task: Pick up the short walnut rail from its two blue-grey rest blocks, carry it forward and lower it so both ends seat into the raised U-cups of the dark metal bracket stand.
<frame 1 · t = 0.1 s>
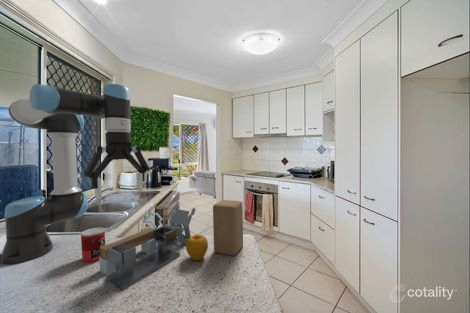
hand: (121, 194, 68), 28 cm above the countertop, fingers open, 13 cm apart
rest block a: (109, 269, 72), on the countertop
rail: (130, 246, 78), point 5 cm above the countertop, touching rest block a, rest block b
wooden block: (229, 249, 85), on the countertop
bracket: (179, 241, 94), on the countertop
rest block b: (149, 250, 85), on the countertop
apple: (197, 258, 78), on the countertop
canned food: (94, 258, 80), on the countertop
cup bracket: (146, 266, 73), on the countertop
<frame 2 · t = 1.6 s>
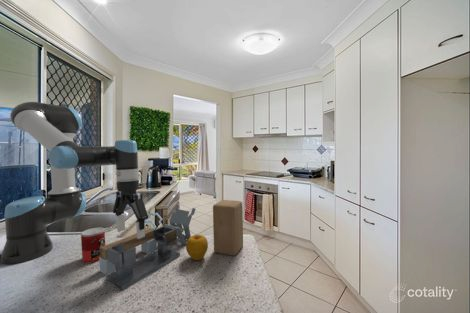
hand: (130, 234, 78), 10 cm above the countertop, fingers open, 13 cm apart
nothing on the countertop moved.
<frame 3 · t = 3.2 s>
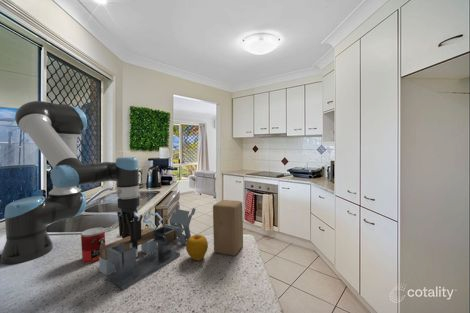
hand: (130, 255, 78), 1 cm above the countertop, fingers closed on rail, 4 cm apart
rail: (130, 246, 78), point 5 cm above the countertop, touching gripper, rest block a, rest block b
everything else where it was.
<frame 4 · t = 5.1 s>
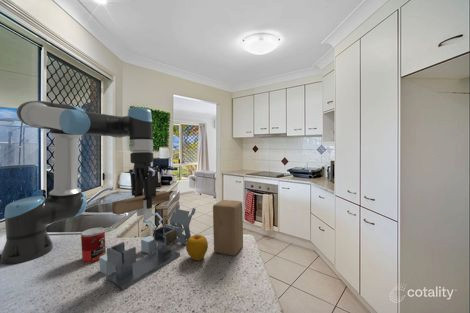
hand: (144, 216, 73), 19 cm above the countertop, fingers closed on rail, 4 cm apart
rail: (144, 206, 72), point 22 cm above the countertop, touching gripper
everything else where it was.
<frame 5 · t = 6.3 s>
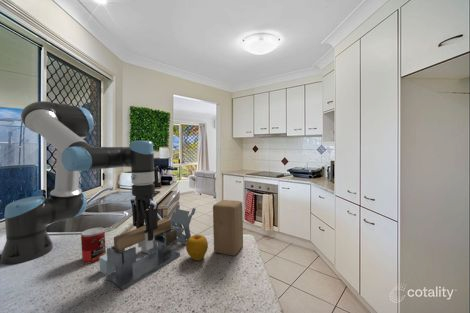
hand: (145, 247, 73), 7 cm above the countertop, fingers closed on rail, 4 cm apart
rail: (145, 237, 73), point 11 cm above the countertop, touching gripper
everything else where it was.
when the fingers open (4 cm above the countertop, at t = 7.0 s): rail drops 1 cm, resting on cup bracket.
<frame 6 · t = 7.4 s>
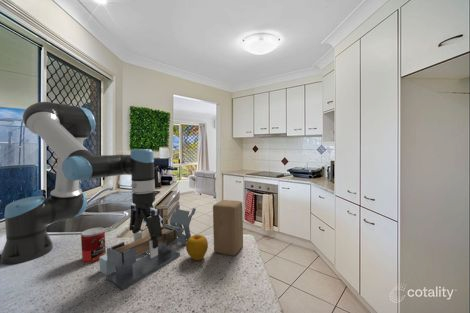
hand: (145, 252, 73), 5 cm above the countertop, fingers open, 9 cm apart
rail: (145, 248, 73), point 7 cm above the countertop, touching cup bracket
everything else where it was.
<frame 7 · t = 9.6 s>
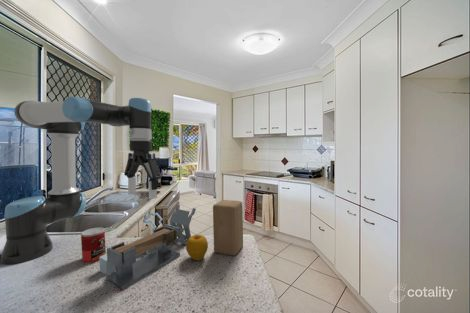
hand: (142, 196, 76), 25 cm above the countertop, fingers open, 13 cm apart
nothing on the countertop moved.
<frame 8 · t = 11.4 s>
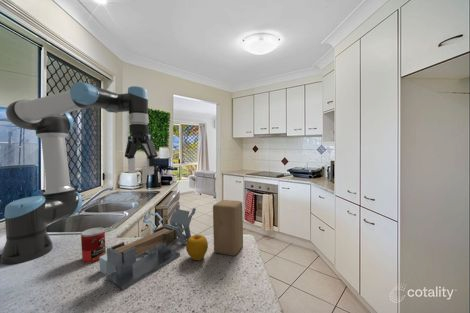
hand: (140, 173, 86), 33 cm above the countertop, fingers open, 13 cm apart
nothing on the countertop moved.
at the end: rail 0.1 cm off-centre on the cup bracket, point 6.8 cm above the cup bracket's base; rail tilted 0°; the gripper is holding nothing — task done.
